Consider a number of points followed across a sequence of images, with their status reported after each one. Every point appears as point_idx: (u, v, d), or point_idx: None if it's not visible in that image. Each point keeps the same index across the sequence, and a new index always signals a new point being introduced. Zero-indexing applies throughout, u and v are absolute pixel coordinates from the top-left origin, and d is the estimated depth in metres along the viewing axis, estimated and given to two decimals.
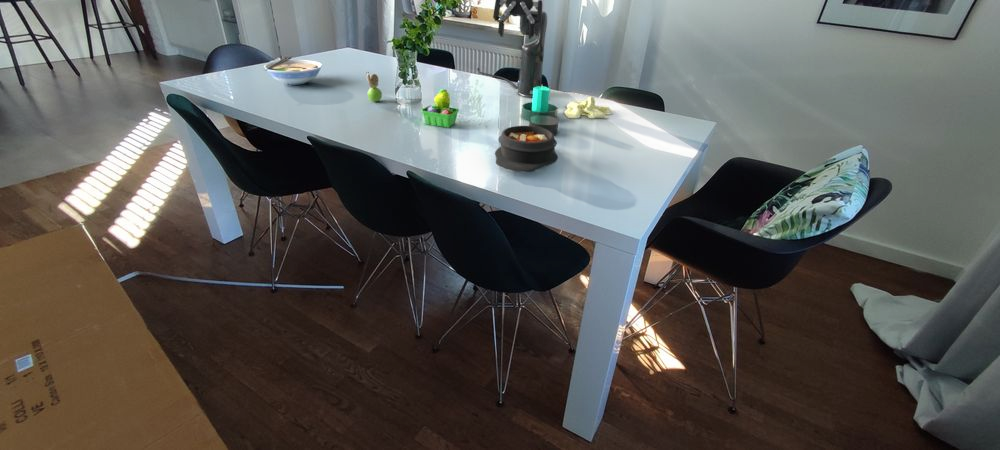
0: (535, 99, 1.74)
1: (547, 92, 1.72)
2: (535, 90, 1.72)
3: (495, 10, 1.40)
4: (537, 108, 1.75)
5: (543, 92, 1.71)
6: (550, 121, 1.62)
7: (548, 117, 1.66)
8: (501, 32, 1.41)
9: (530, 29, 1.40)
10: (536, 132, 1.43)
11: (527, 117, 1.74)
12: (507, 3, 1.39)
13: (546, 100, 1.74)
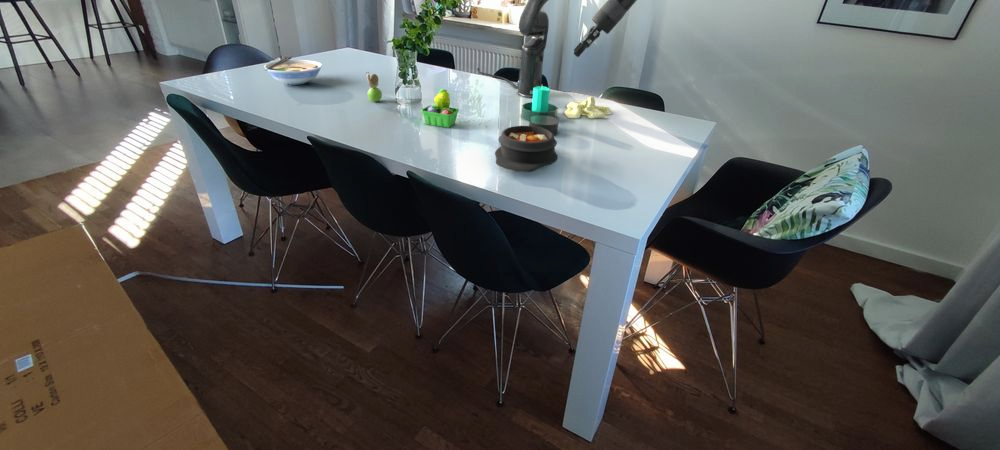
0: (535, 99, 1.74)
1: (547, 92, 1.72)
2: (535, 90, 1.72)
3: (592, 42, 1.58)
4: (537, 108, 1.75)
5: (543, 92, 1.71)
6: (550, 121, 1.62)
7: (548, 117, 1.66)
8: None
9: None
10: (536, 132, 1.43)
11: (527, 117, 1.74)
12: None
13: (546, 100, 1.74)
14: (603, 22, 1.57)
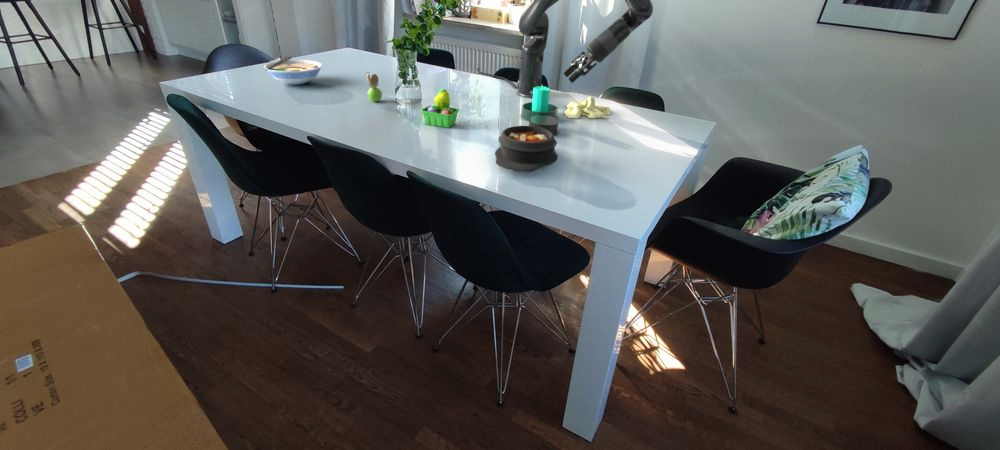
0: (535, 99, 1.74)
1: (547, 92, 1.72)
2: (535, 90, 1.72)
3: None
4: (537, 108, 1.75)
5: (543, 92, 1.71)
6: (550, 121, 1.62)
7: (548, 117, 1.66)
8: None
9: None
10: (536, 132, 1.43)
11: (527, 117, 1.74)
12: None
13: (546, 100, 1.74)
14: (599, 53, 1.65)
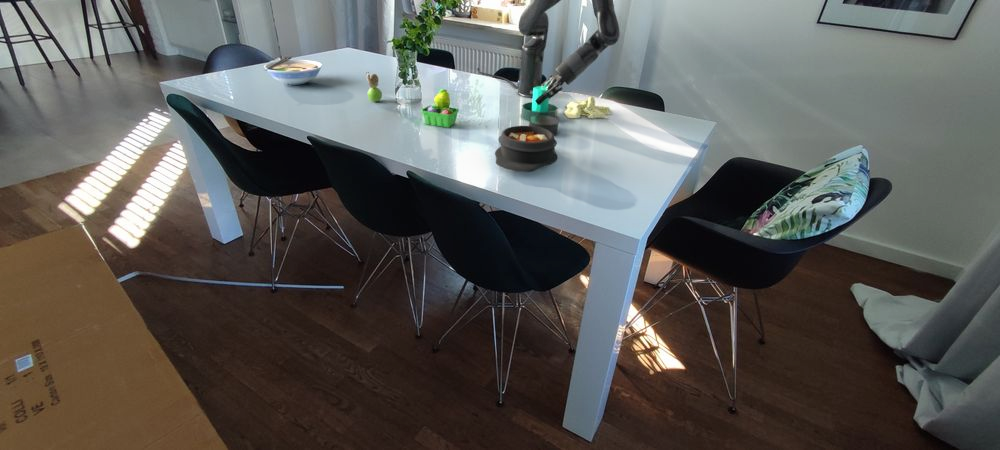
0: (535, 99, 1.74)
1: None
2: (535, 90, 1.72)
3: None
4: (537, 108, 1.75)
5: None
6: (550, 121, 1.62)
7: (548, 117, 1.66)
8: None
9: None
10: (536, 132, 1.43)
11: (527, 117, 1.74)
12: None
13: (546, 100, 1.74)
14: (567, 75, 1.68)
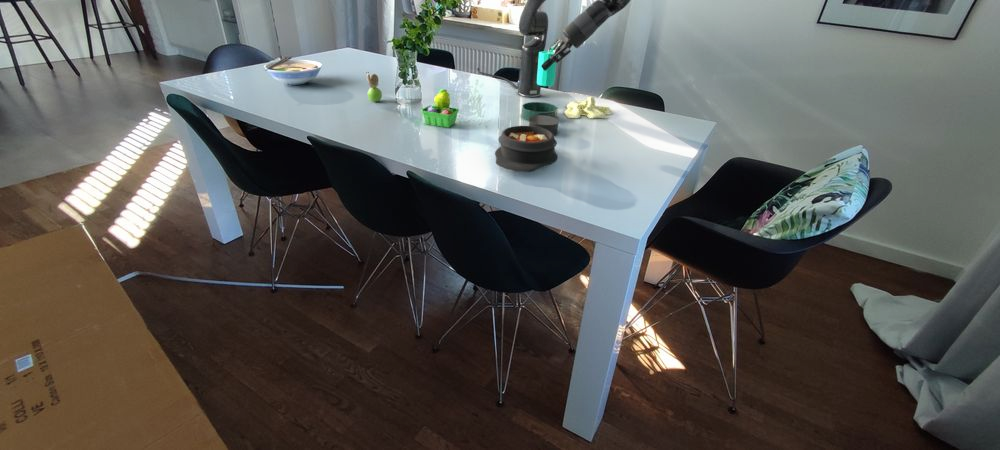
0: (541, 64, 1.60)
1: None
2: (541, 54, 1.58)
3: None
4: (543, 74, 1.61)
5: None
6: (550, 121, 1.62)
7: (548, 117, 1.66)
8: None
9: None
10: (536, 132, 1.43)
11: (527, 117, 1.74)
12: None
13: (553, 65, 1.60)
14: (576, 37, 1.54)
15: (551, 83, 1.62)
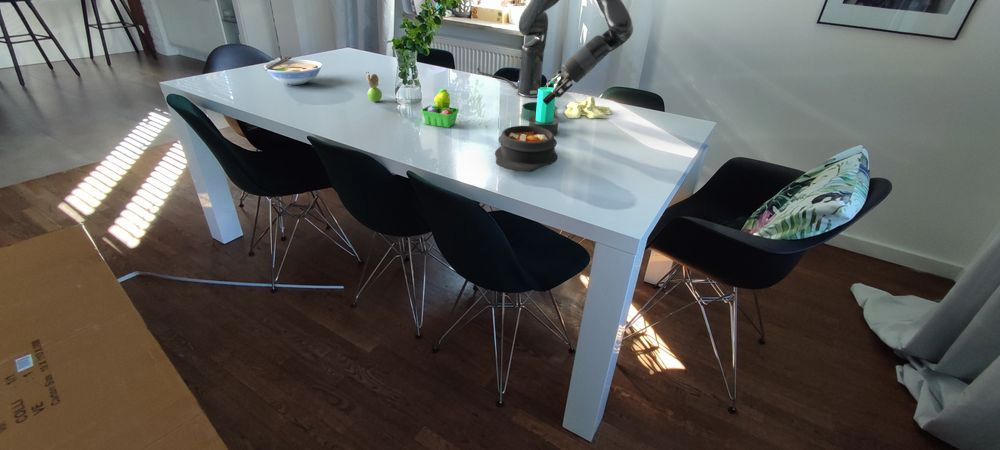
0: (540, 101, 1.58)
1: None
2: (540, 91, 1.57)
3: None
4: (542, 111, 1.59)
5: None
6: None
7: None
8: None
9: None
10: (536, 132, 1.43)
11: (527, 117, 1.74)
12: None
13: (552, 102, 1.58)
14: (575, 72, 1.52)
15: (550, 120, 1.61)
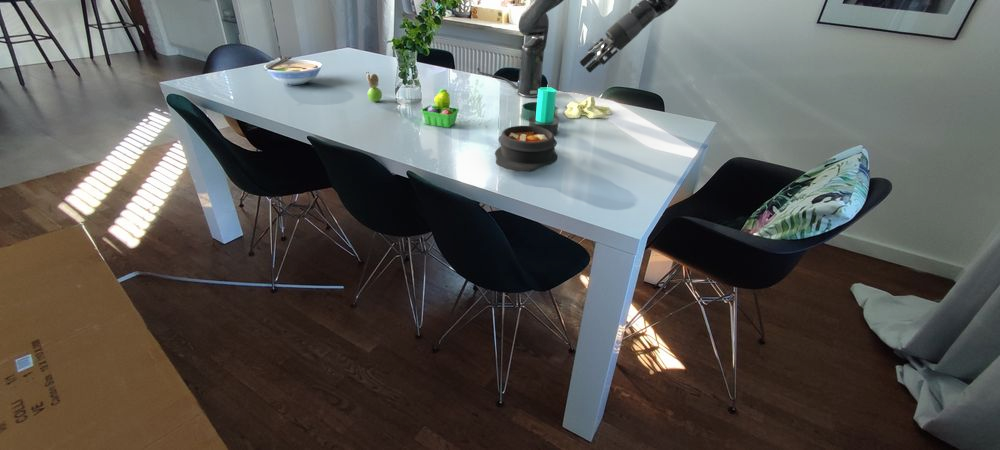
0: (540, 101, 1.58)
1: (553, 94, 1.56)
2: (540, 91, 1.57)
3: None
4: (542, 111, 1.59)
5: (549, 94, 1.56)
6: None
7: None
8: None
9: None
10: (536, 132, 1.43)
11: (527, 117, 1.74)
12: None
13: (552, 102, 1.58)
14: (620, 39, 1.48)
15: (550, 120, 1.61)
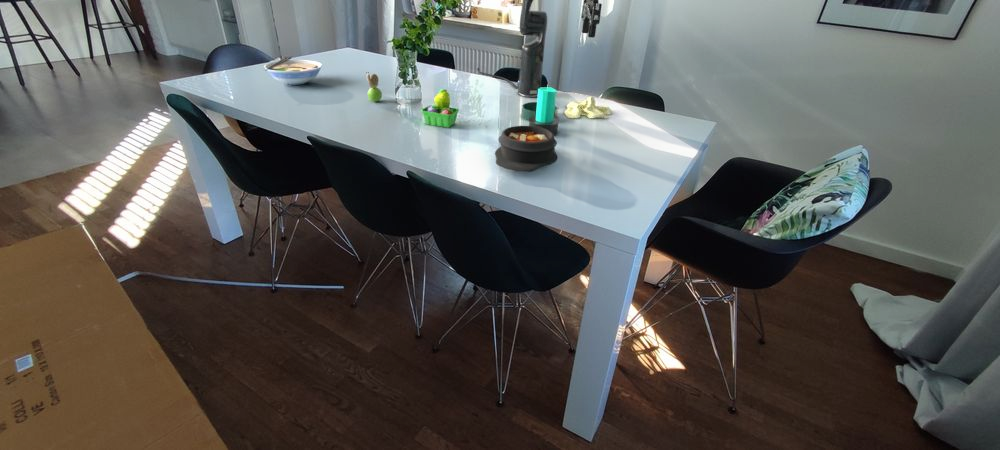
0: (540, 101, 1.58)
1: (553, 94, 1.56)
2: (540, 91, 1.57)
3: None
4: (542, 111, 1.59)
5: (549, 94, 1.56)
6: None
7: None
8: None
9: None
10: (536, 132, 1.43)
11: (527, 117, 1.74)
12: None
13: (552, 102, 1.58)
14: None
15: (550, 120, 1.61)
